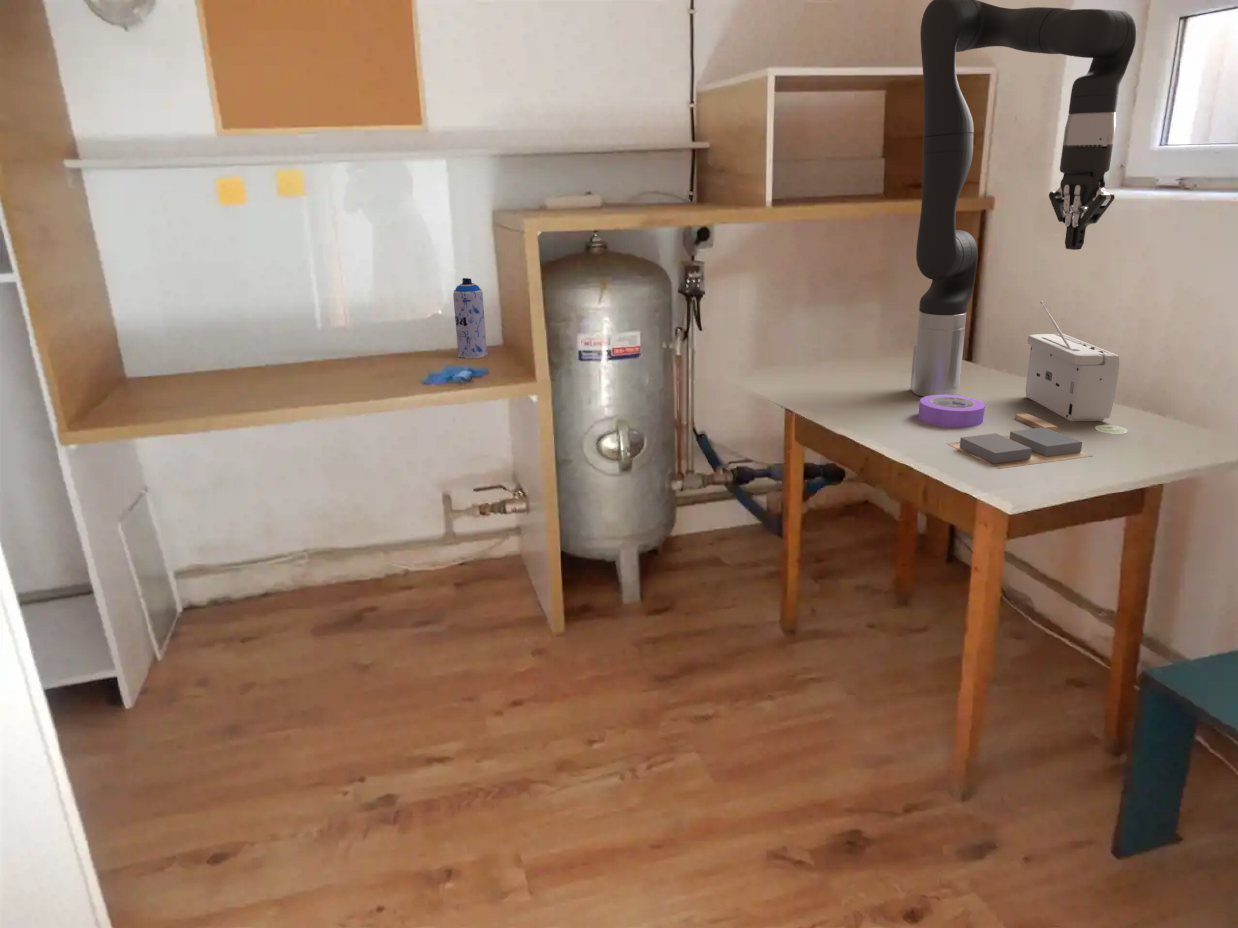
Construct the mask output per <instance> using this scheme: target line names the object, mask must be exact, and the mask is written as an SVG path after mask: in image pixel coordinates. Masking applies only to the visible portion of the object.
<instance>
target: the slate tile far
mask: <svg viewBox="0 0 1238 928" xmlns="http://www.w3.org/2000/svg"><path fill="white" fill-rule="evenodd" d="M1009 436H1010V439H1011V440H1013V441H1015V442H1018V443H1020V444H1022V445H1025V446H1027V447H1030V448H1032V450H1031V451H1033V452H1036V453H1038V454H1040V455H1043V456H1045V457H1048V456H1055V455H1063V454H1071V453H1078V452H1082V447H1083V441H1081V440H1078V439H1077V438H1073V437H1071V436H1068V435H1065V434H1063V433H1060V432H1058V431H1056V432H1055V431H1053V430H1050V429H1048V428H1045V427H1042V428H1034V427H1033V428H1027V429H1020V430H1011V431H1010V432H1009Z"/></svg>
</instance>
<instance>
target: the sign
mask: <svg viewBox="0 0 1238 928" xmlns="http://www.w3.org/2000/svg"><path fill="white" fill-rule="evenodd" d="M1094 430H1096V431H1097V432H1100V433H1104V434H1110V435H1111V434H1112V435H1123V434H1124V435H1125V434H1127V433H1128V429H1126V428H1125V427H1121V426H1117V425H1114V424H1113V425H1112V424H1111V425H1110V424H1101V425H1100V424H1099V425H1096V426H1095V427H1094Z"/></svg>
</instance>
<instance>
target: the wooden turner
mask: <svg viewBox="0 0 1238 928" xmlns="http://www.w3.org/2000/svg"><path fill="white" fill-rule="evenodd" d="M1014 415H1015V416H1014V420H1017V421H1018V422H1021V423H1023V424H1025V425H1028V427H1029V426H1030V427H1032V428H1033V429H1034V428H1042V427H1045V428H1048V429H1050V430H1053V431H1055V432H1058V426H1057V425H1055V424H1052V423H1050V422H1048V421H1046V420H1043V419H1041V418H1039V417H1036V416H1034V415H1032V414H1030V413H1016V414H1014Z"/></svg>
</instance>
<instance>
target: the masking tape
mask: <svg viewBox="0 0 1238 928" xmlns="http://www.w3.org/2000/svg"><path fill="white" fill-rule="evenodd" d="M985 409H986V404H985V403H984V402H983V401H981V400H980V399H977V398H973V397H970V396H969V397H968V396H963V395H959V394H958V395H930V396H926V397H923V396H922V397H921V398H920V400H919V406H918V414H917V415H918V416H917V418H918V419H919V420H920V421H922V422H924V423H927V424H930V425H934V426H938V427H946V428H969V427H976V426H979V425H981V424H983V422H984V417H985V416H984V415H985Z"/></svg>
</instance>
